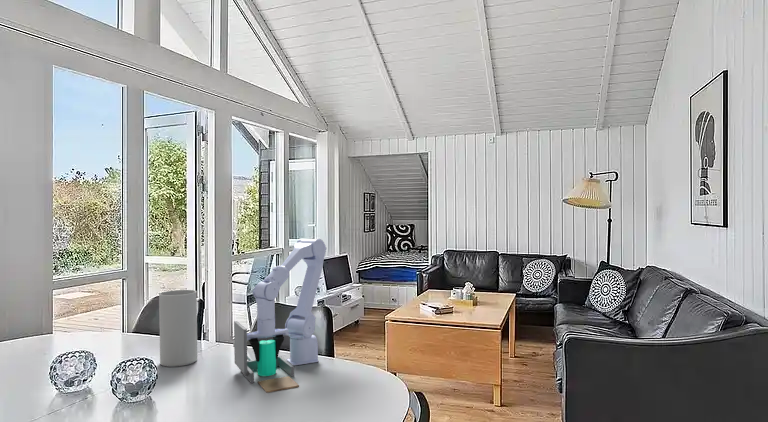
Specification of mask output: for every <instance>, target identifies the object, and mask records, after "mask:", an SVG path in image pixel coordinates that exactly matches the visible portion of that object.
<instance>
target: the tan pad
mask: <svg viewBox="0 0 768 422" xmlns="http://www.w3.org/2000/svg"><path fill="white" fill-rule="evenodd" d="M257 383H258V385H259V386H261V387H260V388H262V389H263V390H264V392H266V393H267V394H268V393H272V392H278V391H279V392H280V391H283V390H288V389H289V390H290V389H294V388H300V385H299V384H298V383H297V382H296V381H295V380H294V379H293V378H291V376H290V375H289V376H288V375H287V376H282V377H276V378H270V379H265V380H264V379H263V380H259V381H257Z"/></svg>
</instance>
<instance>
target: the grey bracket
mask: <svg viewBox="0 0 768 422" xmlns="http://www.w3.org/2000/svg"><path fill="white" fill-rule="evenodd" d="M233 331H234V332H233V335H234V337H233V342H232V343H233V345H232V346H233V349H234V364H235V365H236V367H237V368H238V370H240V372H241V373H242V374H243V376H244V377H245V378H246V379H247V380H248V381H249V383H251V384H253V383H255V373H254V371H258V367H257V361H256V359H255V360H254V359H251V358H250V357H249V356H248V341H247V333H248V329H247V328H246V327H245V326H244V325H243V324H241V323H240V322H239V321H238V320H234V321H233ZM276 367H280V368H281V369H282V370H283V371H284V372H285V373H287V374H288V375H289V377H294V376H295V366H293V365H292V364H291V363H289V362H288V361H287V359H286V358H284V357H283V356H281V355H280V356H279V355H278V359H276Z"/></svg>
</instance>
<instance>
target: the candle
mask: <svg viewBox="0 0 768 422" xmlns="http://www.w3.org/2000/svg"><path fill="white" fill-rule="evenodd" d="M267 338H268V337H267ZM267 338H265V339H266V340H263V339H262V340H260V341H259V342H260V345H259V358H260V359H259V361H258V362H257V367H258V369H257V375H258V376H260V377H269V376H275V375H276V373H277V366H276V341H275V340H273V339H268V340H267Z"/></svg>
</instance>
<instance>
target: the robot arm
mask: <svg viewBox="0 0 768 422" xmlns="http://www.w3.org/2000/svg"><path fill="white" fill-rule="evenodd" d="M326 252H327V247H326V244H325V242H324V241H323V239H322V238H303V237H302V238H298V240H297V241H296V242H295V243H294V244H293V250H292V251H291V252H290V253H289V255H288V256H287V257H286V259H285V260H284V261H283V262H282V264H281V265H276V266H274V267H273V268H272V270H271V272H270V273H269V274H268V275H267V276H266V277H264V279H263V280H262V281H260V282H257V284H255V286H254V288H253V291H252V295H253V297H254V298H255V303H256V314H257V316H256V318H257V319H256V320H257V321H256V322H257V324H256V325H257V326H256V327H257V330H256V331H252V332H247V342H249V343H250V345H251V348H252V350H253V354H254V357H255V360H256V361H257V362H258V361H259V359H260V358H259V345H260V341H259V340H260V339H266V338H272V340H275V341H276V359H278V357H279V353H280V350H281V347H282V344H283V342H284V340H285V337H284V336H288V337H289V358H287V359H286V361H288V362H289V363H290V364H291V365H293V366H294V367H295V366H300V365H305V364H313V363H318V362H320V361H319V353H318V352H319V346H318V345H319V344H318V343H319V342H318V339H317V336H316V335H315V334H314V333H315V329H316V319H317V317H316V316H315V315H314V313H313V311H312V309H313V306H314V302H315V299H316V295H317V290H318V287H319V283H320V279H321V275H322V271H323V267H324V260H325V256H326ZM301 260H302V261H303V262H304V263H305V264H306V265H307V266H306V271H305V275H304V278H303V281H302V285H301V289H300V294H299V296H298V297H299V298H298V301H297V305H296V307H295V308H294V309H293V310H291V311H290V312H289V316H288V317H287V319H286V320H285V324H284V328H276V313H275V312H276V311H275V310H276V309H275V308H276V306H275V305H276V304H275V303H276V302H275V299H277V298H278V295H279V291H280V290H281V287H282V286H283V285H284V284H285V282H287V280H288V279H289V278H290V271H291V270H292V269H293V268H295V266H296V265H297V264H299V262H301Z"/></svg>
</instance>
